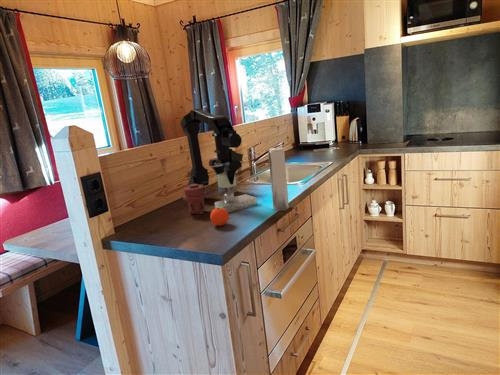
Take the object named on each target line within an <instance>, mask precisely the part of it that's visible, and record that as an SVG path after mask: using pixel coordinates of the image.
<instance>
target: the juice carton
mask: <svg viewBox="0 0 500 375" xmlns="http://www.w3.org/2000/svg"><path fill="white" fill-rule="evenodd" d="M215 158H217V154H216V155H214V158H213V159H215ZM224 170H225V168H224ZM224 173H225V171H224ZM215 175H216V176H217V174H216V173H215ZM216 183H217V184H218V179H217V178H216ZM217 189H218V190H217V191H218V194H219V195H223V194H225V193H229V192H232V193H236V192H238V187H237V184H236V185H235V186H233V187H228V188H220V187H219V186H218V185H217Z"/></svg>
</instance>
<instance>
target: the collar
mask: <svg viewBox="0 0 500 375" xmlns="http://www.w3.org/2000/svg"><path fill="white" fill-rule="evenodd" d="M217 179H218V183H217V187H218V186H219V187H220V188H228V187H233V186H235V185H236V186H237V179H236V176H235V177H234V182H233V184H232V185H231V184H230V182H229V180H228V178H227V175H226V173H220V174H218V175H216V180H217Z"/></svg>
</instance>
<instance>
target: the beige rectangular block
mask: <svg viewBox="0 0 500 375" xmlns="http://www.w3.org/2000/svg"><path fill="white" fill-rule="evenodd" d="M234 193H235V192H234ZM234 193H232V192H229V193H225V194H222V195H223V199H221V200H218V201H215V202H214V209H215V208H218V207H223V208H224V207H225V208H224V209H225V210H226V209H227V210H226V211H227V212H228V213H232V212H235V211H238V210H241V209H245V208H249V207H252V206H256V205H257V204H258V202H257V197H256V196H252V195H250V194H246V193H245V194H241V195H238V196H237V195H236V196H235V194H234Z"/></svg>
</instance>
